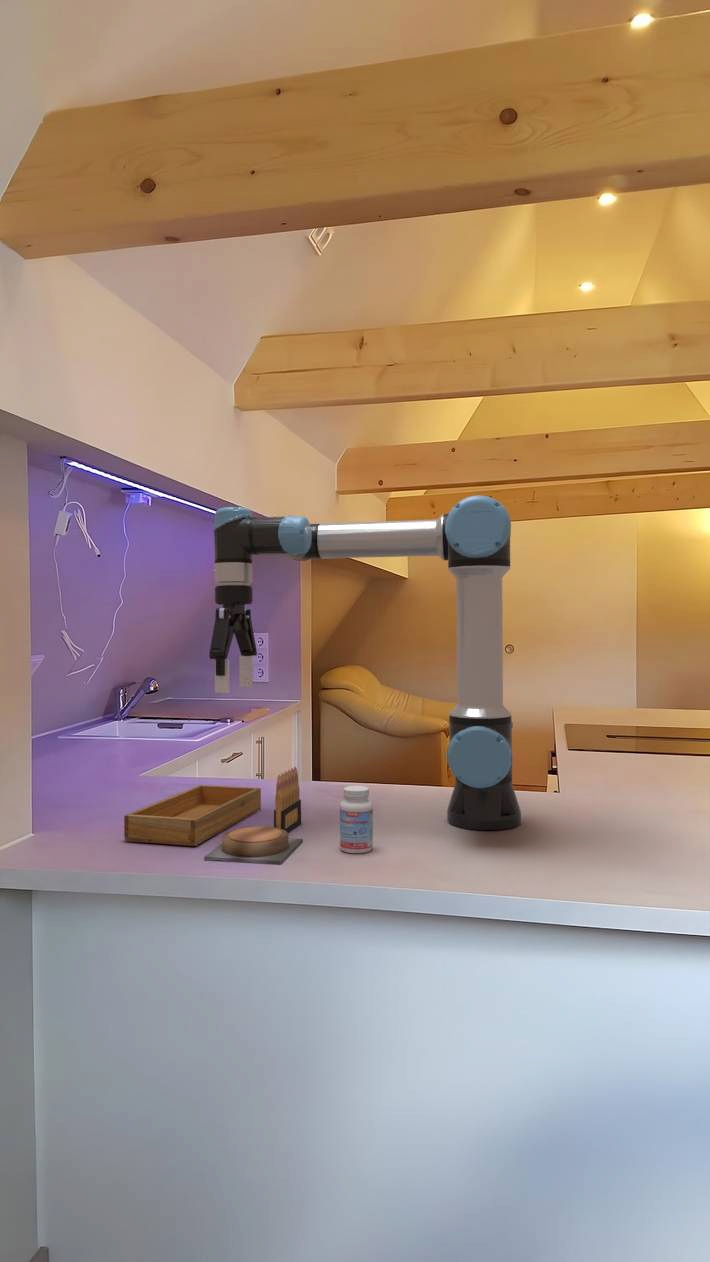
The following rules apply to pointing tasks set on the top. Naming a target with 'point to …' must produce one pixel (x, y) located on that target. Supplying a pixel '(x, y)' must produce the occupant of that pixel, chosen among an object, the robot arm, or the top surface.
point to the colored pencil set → (287, 801)
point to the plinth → (255, 846)
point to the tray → (192, 815)
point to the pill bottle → (356, 820)
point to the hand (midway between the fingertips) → (234, 689)
